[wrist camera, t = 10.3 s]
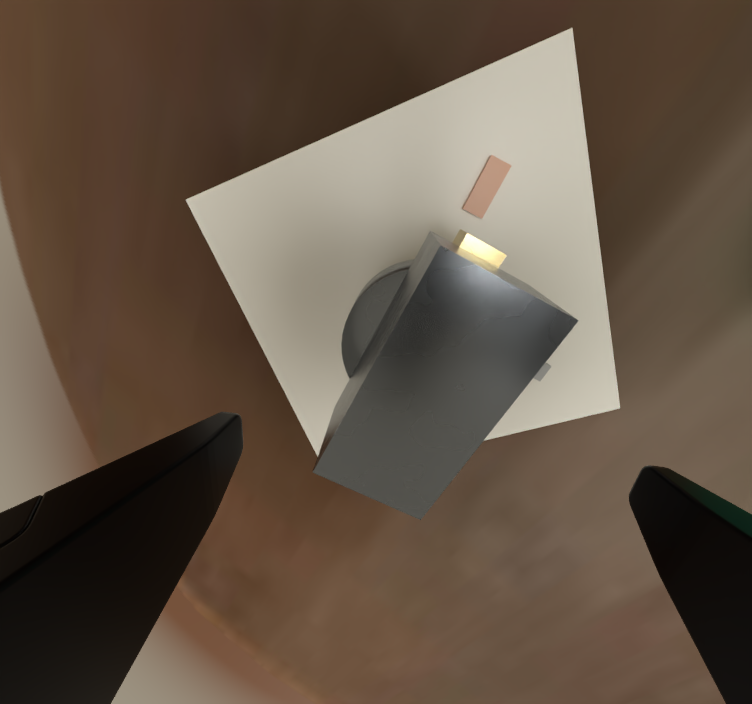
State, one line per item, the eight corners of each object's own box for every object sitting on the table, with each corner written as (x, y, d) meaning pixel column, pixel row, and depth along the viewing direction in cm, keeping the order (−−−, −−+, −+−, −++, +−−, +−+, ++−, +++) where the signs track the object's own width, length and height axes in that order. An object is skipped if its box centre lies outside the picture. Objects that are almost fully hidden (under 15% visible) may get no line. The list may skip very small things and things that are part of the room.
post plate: (198, 199, 19) (147, 200, 15) (560, 40, 15) (609, -11, 11) (331, 465, 25) (318, 511, 21) (609, 397, 21) (651, 439, 18)
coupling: (436, 427, 18) (451, 533, 12) (320, 371, 17) (278, 457, 12) (543, 275, 15) (631, 325, 9) (406, 198, 14) (406, 200, 8)
